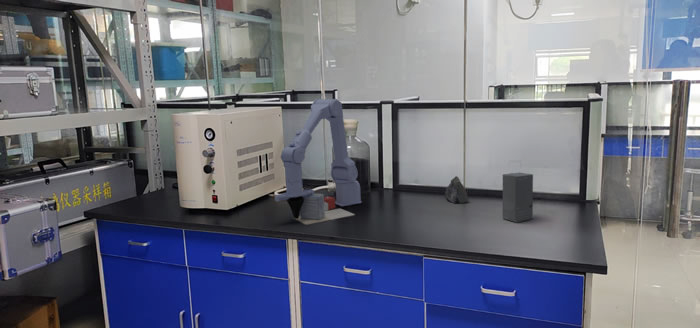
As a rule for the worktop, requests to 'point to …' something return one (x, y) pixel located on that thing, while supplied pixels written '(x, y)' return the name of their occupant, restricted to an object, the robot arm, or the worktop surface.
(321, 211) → the medicine box
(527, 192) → the skincare box
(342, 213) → the cream flat sheet
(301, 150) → the robot arm
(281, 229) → the worktop surface
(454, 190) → the mineral rock
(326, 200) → the die
